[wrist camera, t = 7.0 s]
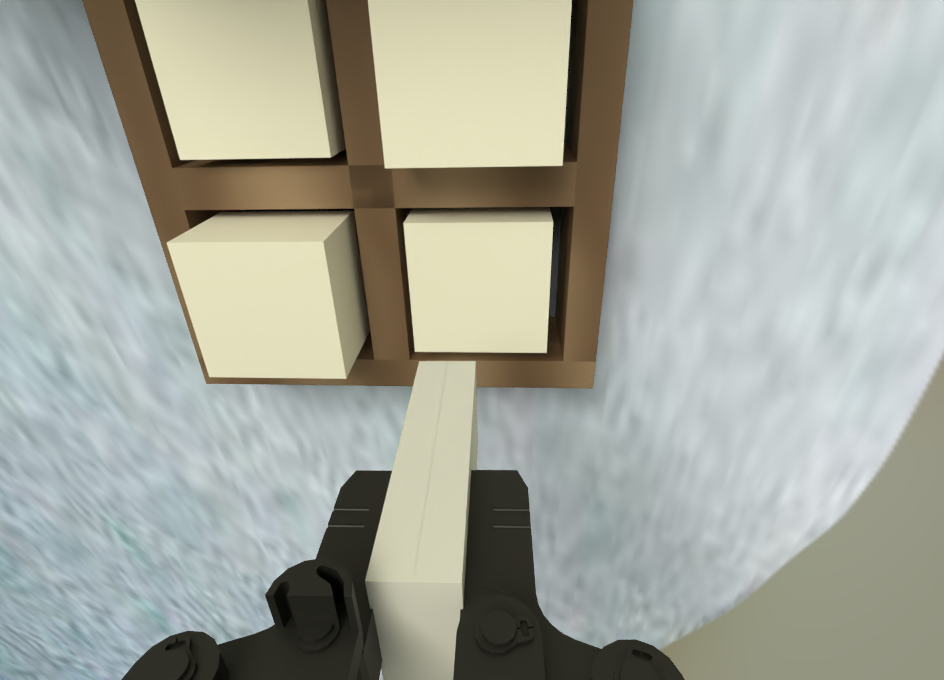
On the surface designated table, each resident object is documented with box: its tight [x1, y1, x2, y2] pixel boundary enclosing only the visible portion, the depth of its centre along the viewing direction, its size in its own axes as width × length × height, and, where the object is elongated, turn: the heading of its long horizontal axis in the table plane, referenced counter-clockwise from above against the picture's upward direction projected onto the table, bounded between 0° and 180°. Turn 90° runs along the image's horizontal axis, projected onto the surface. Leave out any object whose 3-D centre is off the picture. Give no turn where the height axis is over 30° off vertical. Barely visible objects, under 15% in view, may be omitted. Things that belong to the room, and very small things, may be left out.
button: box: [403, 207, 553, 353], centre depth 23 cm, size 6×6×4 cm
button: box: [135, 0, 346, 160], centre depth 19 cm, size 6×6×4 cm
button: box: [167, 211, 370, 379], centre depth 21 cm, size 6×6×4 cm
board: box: [82, 0, 633, 388], centre depth 22 cm, size 18×18×4 cm
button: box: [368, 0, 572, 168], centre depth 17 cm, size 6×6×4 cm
